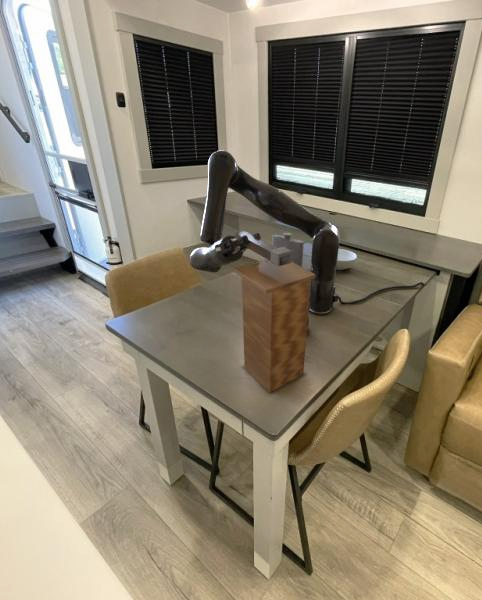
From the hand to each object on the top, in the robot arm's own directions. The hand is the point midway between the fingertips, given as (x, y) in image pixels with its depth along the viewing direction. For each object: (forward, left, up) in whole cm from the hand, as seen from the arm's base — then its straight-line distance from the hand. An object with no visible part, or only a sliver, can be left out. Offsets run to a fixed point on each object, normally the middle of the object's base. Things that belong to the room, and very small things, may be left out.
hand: (252, 237), depth 85 cm
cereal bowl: (-73, -33, -38) cm, 89 cm away
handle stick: (0, +4, -3) cm, 4 cm away
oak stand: (0, +10, -38) cm, 39 cm away
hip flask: (-45, -41, -38) cm, 72 cm away
